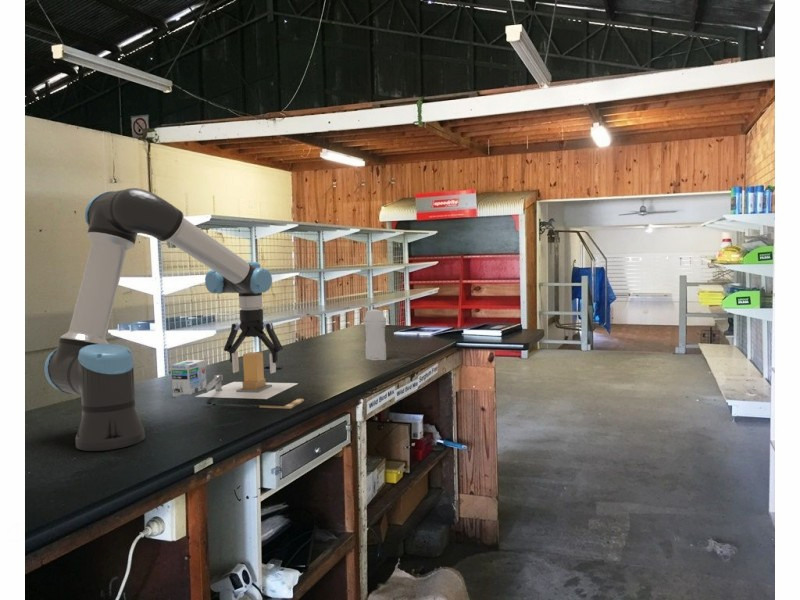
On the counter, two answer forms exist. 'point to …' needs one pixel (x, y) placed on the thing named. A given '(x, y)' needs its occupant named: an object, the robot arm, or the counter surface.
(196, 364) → the light bulb box
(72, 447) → the counter surface
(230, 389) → the socket board
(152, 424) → the counter surface
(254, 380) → the tan tall block
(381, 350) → the tall pale column
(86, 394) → the robot arm
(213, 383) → the silver metal bar
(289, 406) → the tan flat l-shape
